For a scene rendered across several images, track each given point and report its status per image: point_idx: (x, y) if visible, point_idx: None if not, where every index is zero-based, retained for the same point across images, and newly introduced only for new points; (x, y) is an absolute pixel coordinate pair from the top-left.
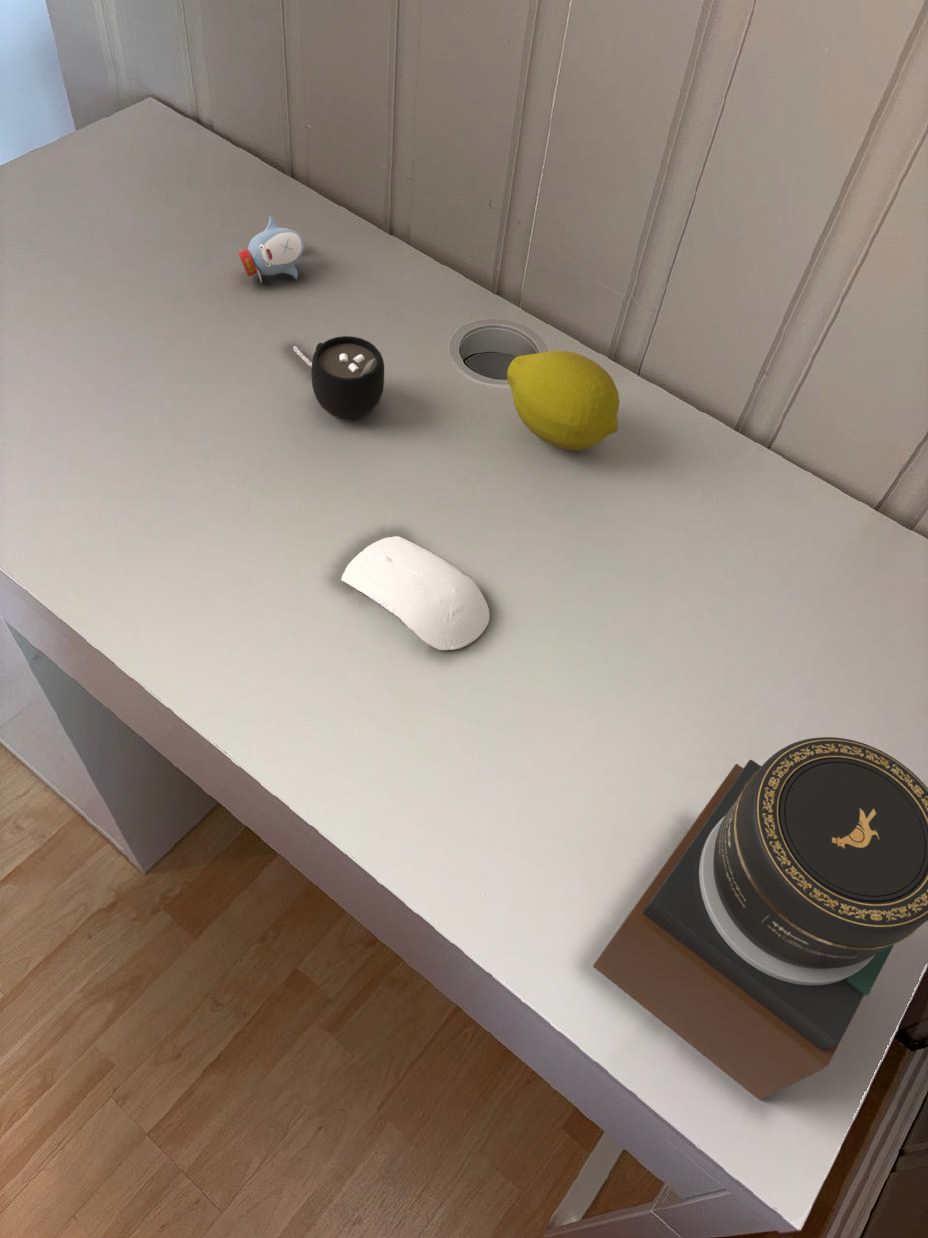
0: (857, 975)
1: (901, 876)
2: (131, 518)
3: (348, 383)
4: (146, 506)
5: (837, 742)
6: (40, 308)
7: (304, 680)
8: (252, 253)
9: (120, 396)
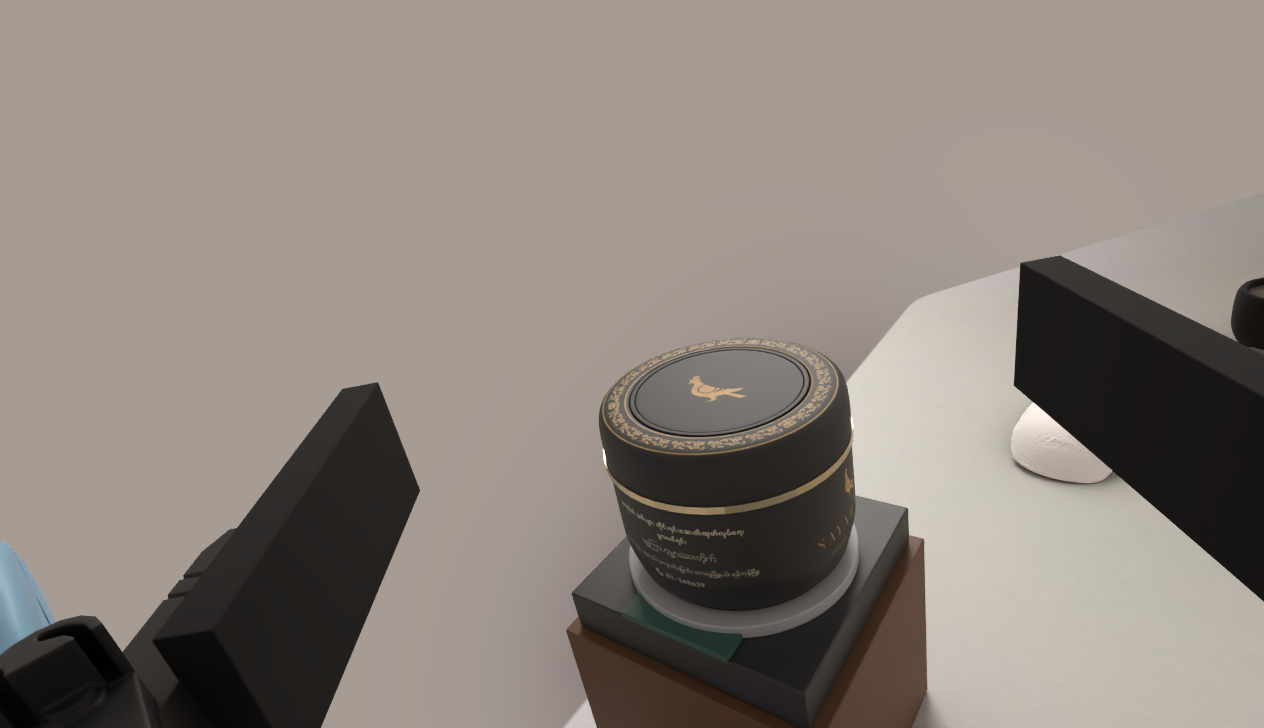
0: (643, 602)
1: (661, 417)
2: (998, 313)
3: (1252, 299)
4: (1016, 314)
5: (830, 368)
6: (1151, 236)
7: (919, 406)
8: None
9: (1109, 278)
